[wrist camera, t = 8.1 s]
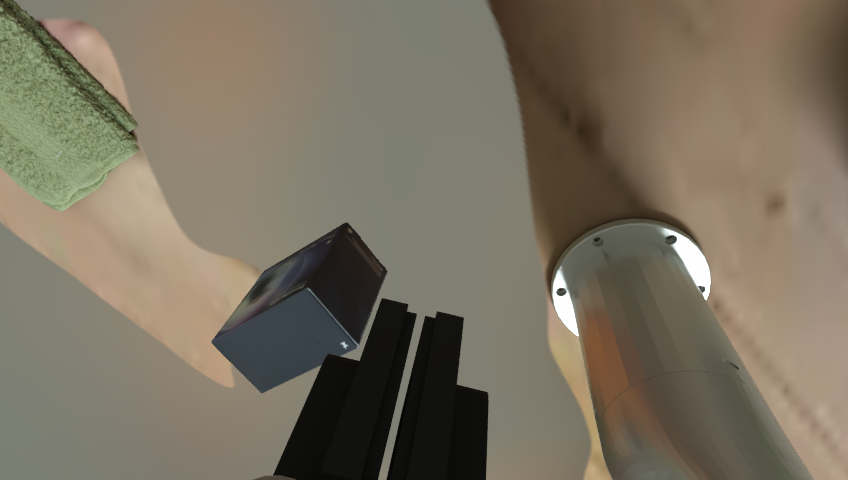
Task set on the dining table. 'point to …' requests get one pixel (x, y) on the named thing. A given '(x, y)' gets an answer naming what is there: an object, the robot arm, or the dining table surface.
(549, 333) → the dining table surface
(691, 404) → the robot arm
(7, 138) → the washcloth
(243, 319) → the small box
